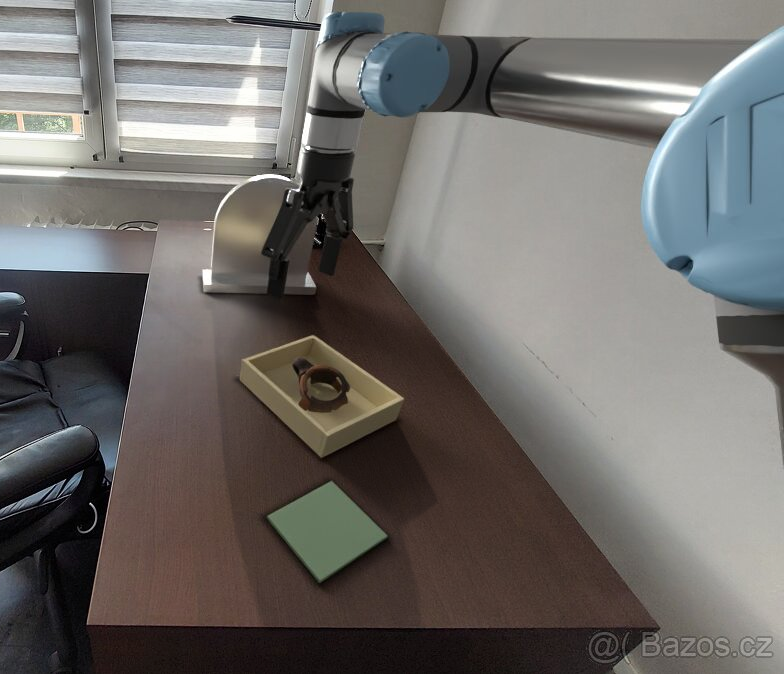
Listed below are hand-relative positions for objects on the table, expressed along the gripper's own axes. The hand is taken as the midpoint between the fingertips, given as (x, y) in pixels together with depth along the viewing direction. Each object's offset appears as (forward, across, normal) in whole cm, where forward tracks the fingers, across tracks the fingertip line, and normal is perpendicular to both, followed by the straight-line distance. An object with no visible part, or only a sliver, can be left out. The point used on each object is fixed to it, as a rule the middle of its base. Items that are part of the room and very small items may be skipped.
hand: (301, 284), depth 75 cm
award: (+20, -25, -29) cm, 43 cm away
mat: (+20, +20, +24) cm, 37 cm away
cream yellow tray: (+20, 0, +7) cm, 21 cm away
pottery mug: (+20, 0, +7) cm, 21 cm away
